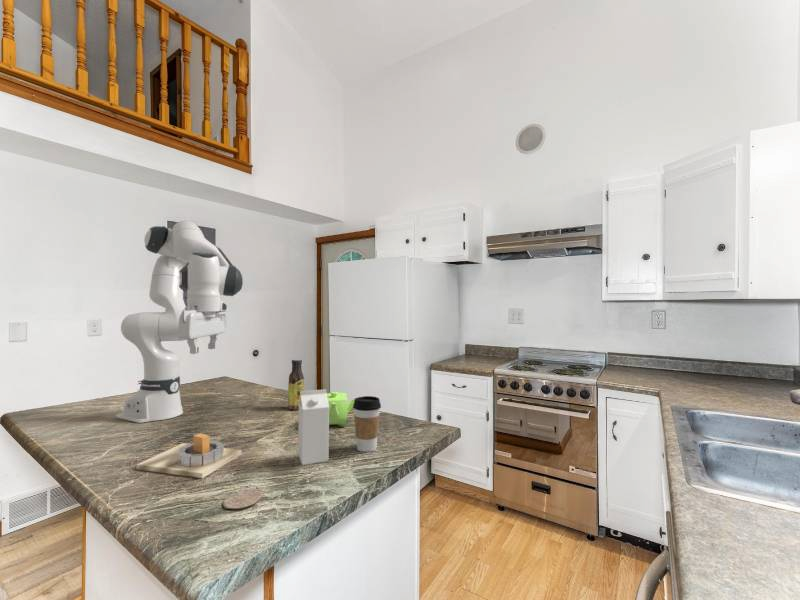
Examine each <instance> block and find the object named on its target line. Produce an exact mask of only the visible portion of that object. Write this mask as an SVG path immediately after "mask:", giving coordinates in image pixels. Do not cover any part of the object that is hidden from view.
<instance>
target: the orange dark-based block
mask: <svg viewBox="0 0 800 600" xmlns="http://www.w3.org/2000/svg"><path fill="white" fill-rule="evenodd" d="M192 441H193V449H192V450H190V451H189V454H202V453H206V452H210V451H212V450H214V448H213V447H210V446H209V441H210V435H208V434H204V433H201V432H200V433H197V434H194V435H193V440H192Z"/></svg>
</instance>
